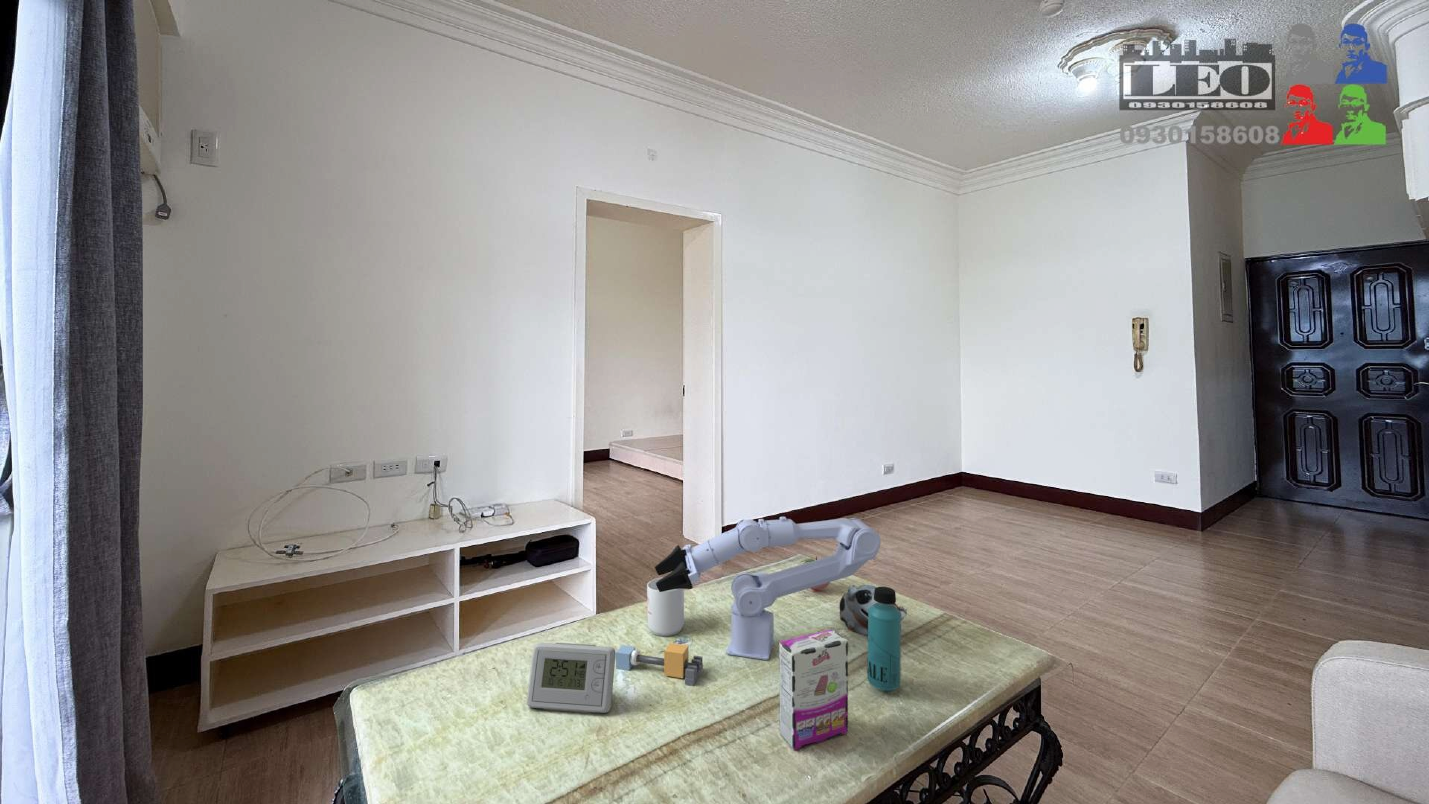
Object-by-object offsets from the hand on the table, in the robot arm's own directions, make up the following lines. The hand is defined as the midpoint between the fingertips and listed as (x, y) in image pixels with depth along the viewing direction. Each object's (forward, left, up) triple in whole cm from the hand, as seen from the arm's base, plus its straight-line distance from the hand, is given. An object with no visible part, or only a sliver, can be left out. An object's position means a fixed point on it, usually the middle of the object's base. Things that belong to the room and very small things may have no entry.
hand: (657, 579), depth 118 cm
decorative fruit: (-31, -44, -17) cm, 56 cm away
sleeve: (-7, +7, -17) cm, 19 cm away
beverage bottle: (-48, +1, -17) cm, 51 cm away
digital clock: (+8, +22, -17) cm, 29 cm away
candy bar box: (-36, +18, -17) cm, 43 cm away
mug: (+3, -12, -17) cm, 21 cm away
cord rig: (-4, +7, -17) cm, 18 cm away
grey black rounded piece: (-46, -25, -17) cm, 55 cm away
